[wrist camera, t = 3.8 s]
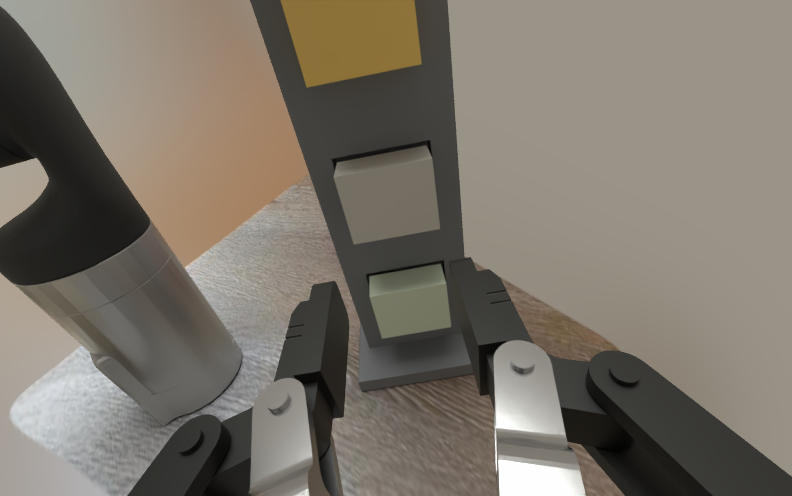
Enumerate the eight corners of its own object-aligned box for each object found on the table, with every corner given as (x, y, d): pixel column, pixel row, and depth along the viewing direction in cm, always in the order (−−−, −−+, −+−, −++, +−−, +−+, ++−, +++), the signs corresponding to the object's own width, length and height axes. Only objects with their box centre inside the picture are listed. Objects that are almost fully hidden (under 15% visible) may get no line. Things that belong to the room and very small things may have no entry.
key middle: (440, 228, 23) (432, 158, 20) (353, 244, 23) (333, 177, 20) (434, 211, 25) (426, 145, 22) (355, 225, 25) (337, 162, 22)
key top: (421, 64, 17) (406, -69, 14) (306, 87, 17) (268, -39, 14) (416, 59, 19) (402, -58, 16) (313, 80, 19) (281, -32, 16)
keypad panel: (490, 370, 30) (483, -240, 11) (362, 391, 31) (137, -156, 11) (467, 304, 37) (438, -140, 18) (363, 322, 38) (225, -90, 18)
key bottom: (451, 327, 28) (446, 283, 25) (382, 338, 29) (369, 297, 26) (445, 306, 30) (440, 263, 27) (381, 317, 31) (369, 276, 28)
